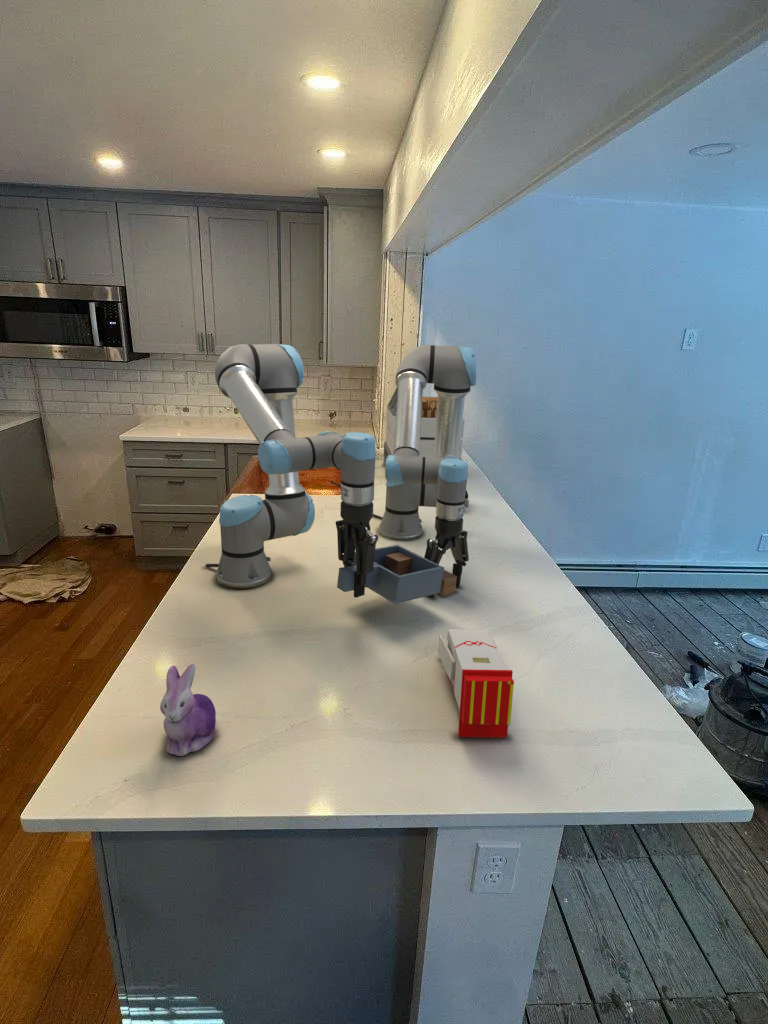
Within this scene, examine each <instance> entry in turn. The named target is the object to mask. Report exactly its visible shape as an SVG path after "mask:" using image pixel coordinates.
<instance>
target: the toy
mask: <svg viewBox="0 0 768 1024" xmlns="http://www.w3.org/2000/svg"><path fill="white" fill-rule="evenodd" d="M446 640H447V643H446V641H445V639H444V636H443V635H442V634H439V637H438V646H437V656H438V657H439V659H440V661H441V663H442V666H443V668H444V670H445V672H446V674H447V677H448V679H449V681H450V684H451V687H452V690H453V693H454V697H455V701H456V705H457V708H458V711H459V714H458V715H459V716H458V730H457V731H458V732H457V737H458V738H508V731H509V726H510V725H511V717H512V707H513V697H514V696H513V695H514V684H515V680H514V679H513V673H514V671H513V670H512V669H508V667H507V665H506V662H505V661H504V659H503V658H502V655H501V653H500V651H499V649H498V647H497V643H496V639H495V637H494V635H493V634H491V632H490V631H489V629H467V628H466V629H465V628H463V629H461V628H460V629H459V628H448V630H447V639H446Z"/></svg>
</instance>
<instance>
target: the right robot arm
mask: <svg viewBox="0 0 768 1024" xmlns="http://www.w3.org/2000/svg"><path fill="white" fill-rule="evenodd" d="M394 380H395V381H394V382H395V387H396V388H398V398H397V411H396V424H395V438H394V451H393V455H388V456H387V457H386V464H385V466H384V468H385V469H384V478H385V481H386V482H385V487H386V488H385V489H386V490H385V504H384V505H385V507H384V508H385V509H384V513H383V515H382V516H380V515H377V514H374V513H373V517H374V518H377V519H379V520H381V522H379V527H378V533H379V534H380V535H381V536H382V537H385V538H387V539H389V540H395V541H410V540H415V539H418V538H420V537H421V536H422V535H423V525H422V524H421V523H422V519H421V518H420V515H419V507H425V508H426V507H427V508H435V517H434V518H435V519H434V530H435V532H436V534H435V536H434V538H433V539H431V538H427V540H426V548H425V551H424V552H425V553H424V556H423V557H424V558H426V559H428V560H430V561H432V562H434V563H436V564H438V565H440V562H441V560H442V558H443V556H444V555H445V554H446V553H447V551H448V550H450V552H451V554H452V557H453V559H454V563H452V572H451V573H452V574H454V575H456V576H457V580H456V588H460V587H461V581H462V579H461V578H462V574H463V567H466V566H467V562H469V560H470V559H469V547H468V533H469V532H468V531H466V530H464V529H463V526H464V518H463V517H464V515H465V514H464V513H465V507H464V504H465V494H466V490H467V484H468V478H469V464H468V462H467V461H465V460H463V459H462V460H460V459H459V450H460V440H462V438H461V430H462V420H463V419H464V408H465V398H466V396H467V395H468V394H469V393H471V387H474V386H476V384H477V362H476V353H475V350H474V349H473V348H472V347H470V346H461V345H435V344H434V345H433V344H422V345H419V346H417V347H415V348H413V349H412V350H410V351H409V352H408V353H407V354H406V355H405V356H403V358H402V360H401V362H400V363H399V365H398V367H397V369H396V373H395V379H394ZM427 384H431V385H432V384H433V390H434V391H435V393H436V394H437V397H438V402H437V414H436V427H435V440H434V453H433V458H430V457H419V454H420V435H421V415H422V397H424V396H423V393H424V392H423V391H424V389H425V388H426V387H427ZM329 483H330V484H333V485H335V486H337V487H339V488H341V484H339V483H337V482H335V481H332V480H329ZM435 595H436V594H433V595H429V597H430V598H432V599H434V598H435Z"/></svg>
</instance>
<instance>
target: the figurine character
mask: <svg viewBox="0 0 768 1024" xmlns="http://www.w3.org/2000/svg"><path fill="white" fill-rule="evenodd" d="M469 505H470V500H469V492H468V490H467V489H466V494H465V504H464V508H469Z"/></svg>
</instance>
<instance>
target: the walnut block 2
mask: <svg viewBox="0 0 768 1024" xmlns="http://www.w3.org/2000/svg"><path fill="white" fill-rule="evenodd" d="M456 580H457V576H456V575H454V574H452V572H450V571H448V570H446V569H444V570H443V576H442V582H441V588H440V593H436V594H437V595H439V596H441V597H443V598H444V597H446V596H448V595H451V594H453V593H456V590H457V589H456V588H457V587H456Z"/></svg>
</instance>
